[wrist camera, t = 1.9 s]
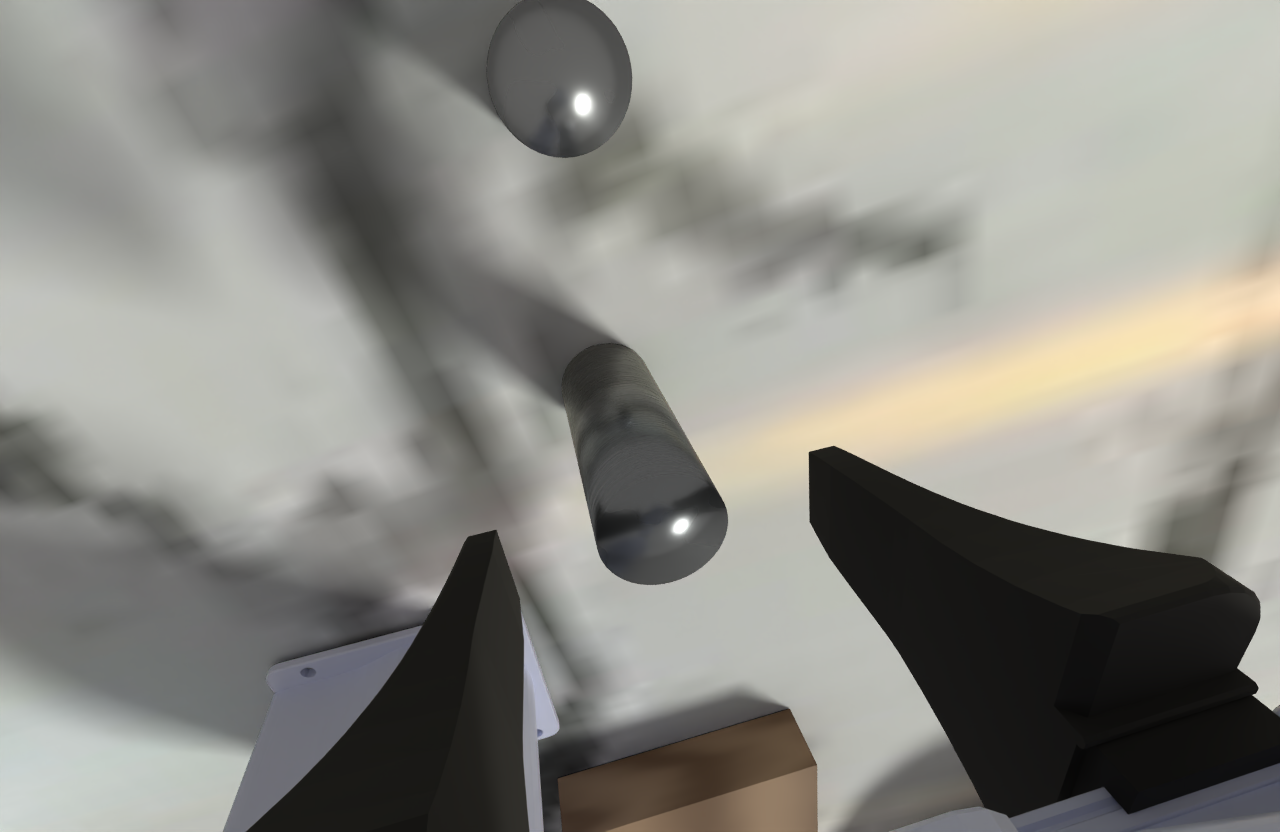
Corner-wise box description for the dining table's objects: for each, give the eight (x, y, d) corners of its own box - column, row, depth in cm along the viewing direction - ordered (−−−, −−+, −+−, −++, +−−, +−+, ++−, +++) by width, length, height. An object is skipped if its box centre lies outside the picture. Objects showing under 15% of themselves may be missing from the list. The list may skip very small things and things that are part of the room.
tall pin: (571, 433, 21) (609, 598, 14) (552, 354, 19) (584, 495, 13) (655, 413, 21) (732, 565, 14) (643, 334, 20) (722, 460, 13)
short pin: (505, 154, 17) (507, 169, 13) (474, 26, 15) (468, 3, 12) (611, 135, 17) (641, 144, 13) (591, 7, 15) (619, -19, 12)
